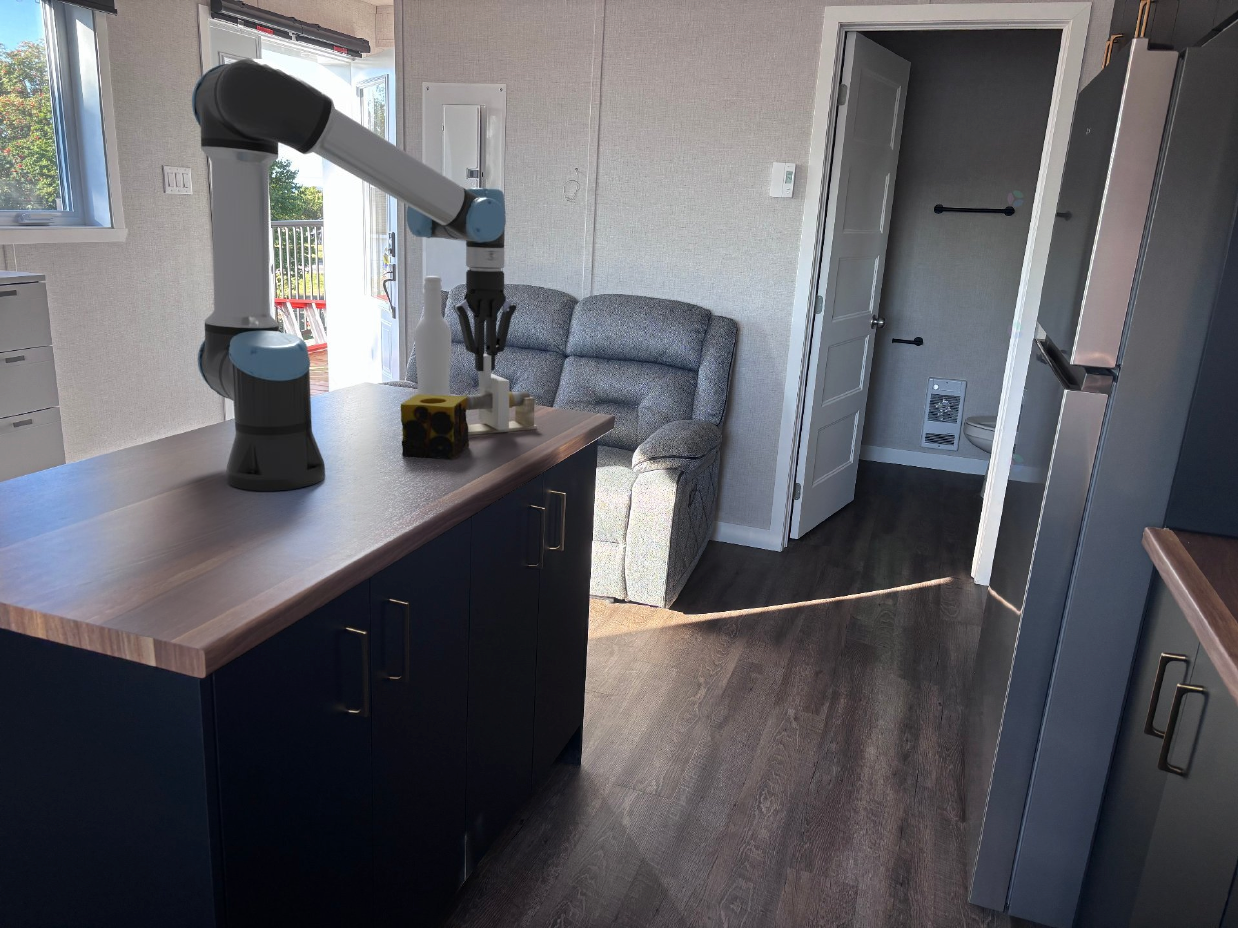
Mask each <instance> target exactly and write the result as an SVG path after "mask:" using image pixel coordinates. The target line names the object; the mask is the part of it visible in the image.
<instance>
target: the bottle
mask: <svg viewBox="0 0 1238 928" xmlns="http://www.w3.org/2000/svg"><path fill="white" fill-rule="evenodd" d="M441 282H442V278H441V277H440V276H437V275H427V276H425V277H424V283H423V287H422V288H423V290H424V291H423V293H424V294H423V299H424V301H423V304H424V305H423V316H422V318H421V319H419V321H418V323H417V325H416V326H415V329H414V334H413V335H414V337H413V338H414V350H415V361H416V362H415V363H416V364H415V365H416V376H417V390H416V394H415V395H417V394H424V395H445V396H452V394H451V391H450V375H451V373H450V372H451V359H452V358H451V356H452V353H451V352H452V332H451V331H452V330H451V327H450V325H449V323H448V321H446V319H445V318H444V316H443V313H442V283H441Z"/></svg>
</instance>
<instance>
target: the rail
mask: <svg viewBox="0 0 1238 928" xmlns="http://www.w3.org/2000/svg"><path fill="white" fill-rule="evenodd" d="M463 396H467V397H468V401H467V410H466V411H472V410H474V411H475V410H479V409H488V408H492V402H493V394H479V393H478V394H467V395H466V394H465V395H463ZM535 399H536V398H535V397H533V396H531V395H530V393H529V391H525V390H524V391H514V392H513V391H509V409H510V408H511V409H512V408H513V407H515V409H514V412H515V413H514V415H515V417H514V418H515V419H514V420H511V421H510V420H509V429H504V430H497V429H495V428H493V427H491V426H490V425H488V424H486V423H475V424H468V436H472V435H482V434H494V433H503V432H506V433H507V432H515V431H516V432H518V431H527V430H537V429H538V425H536V424H535Z"/></svg>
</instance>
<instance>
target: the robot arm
mask: <svg viewBox="0 0 1238 928" xmlns="http://www.w3.org/2000/svg"><path fill="white" fill-rule="evenodd" d="M191 107H192V113H193V116H194V118H195V121H196V122H197V124H198V125H199V128H200V149H201V151H202V152H203V153H204V154H205V155H206V156H207V157H208V158H209V160H210V161H211V193H212V194H211V197H212V198H211V200H212V202H211V203H212V206H211V207H212V251H213V253H212V254H213V255H212V256H213V257H212V259H213V304H214V305H213V306H214V307H213V312H212V313H211V314H209V316H208V317H206V318H205V319H204V340H203V341H202V343H201V345H200V347H199V349H198V352H197V367H198V371H199V374H200V376H201V377H202V379H203V380H204V382H205V383H206V384H207V386H208V387H209V388H210V389H211V390H212V391H214V392H215V393H216V394H218V395H219V396H221V397H222V398H225V399H229V400H230V401H233V402H232V403H233V415H234V426H235V436H234V439H233V443H232V446H231V449H230V450H231V451H230V454H229V457H228V461H227V465H226V471H225V472H226V482H227V484H228V485H229V486H232V487H234V488H236V489H237V488H238V489H242V490H245V491H247V490H248V491H259V492H273V491H274V492H275V491H276V492H277V491H287V490H296V489H301V488H305V487H309V486H313V485H314V484H317V483H320V482H322V481H323V480H324V479H325V477H326V468H325V467H326V465H325V461H324V459H323V456H322V453H321V451H320V448H319V446H318V443H317V441H316V438H315V435H314V433H313V428H312V427H313V424H312V402H311V401H312V400H311V399H312V398H311V377H310V376H311V375H310V371H311V370H310V366H311V359H310V356H309V351H308V350H309V349H308V345H307V344H306V342H305V341H304V340H303V339H302V338H301V337H299V336H297V335H295V334H291V333H285V332H284V333H283V332H281V331H280V330H279V326H280V325H279V322H278V321H277V320H276V319H274V317H272V315H271V314H270V238H269V237H270V235H269V233H270V227H269V226H270V223H269V222H270V221H269V220H270V219H269V218H270V213H269V210H270V209H269V208H270V205H269V202H270V201H269V199H270V197H269V196H270V195H269V190H270V189H269V169H270V166H271V165H273V163H274V162H275V161H276V160H278V158H279V144H281V145H284V146H287V147H289V148H291V149H293V150H295V151H297V152H299V153H301V154H302V155H308V154H312V153H314V154H316V155H318V156H319V157H320V158H323V159H325V160H326V161H329V162H330V163H331V164H334V165H335V166H337V167H339V168H341V169H342V170H344V171H346V172H348V173H349V174H350V175H353V176H354V177H356V178H358V179H360V180H362V181H364V182H365V183H367V184H369V185H371V186H373V187H375V188H376V189H378V190H379V191H381V192H383V193H385V194H386V195H388V196H390V197H391V198H393V199H395V200H397V201H399V202H401V203H403V204H405V205H406V207H407V208H406V222H407V227H408V230H409V231H410V233H411V234H412V235H413V236H414V237H416V238H426V239H430V238H431V239H433V238H436V239H437V238H438V239H449V240H461V241H465V246H466V247H465V250H466V251H465V266H466V267H467V268H468V269H467V271H466V272H465V285H466V287H465V289H466V293H465V295H464V298H463V299H464V300H463V301H461V302H460V303H458V304H457V303H456V304H454V305H453V307H452V308H453V311H454V312H455V313H456V315H457V317H458V321H459V324H460V330H461V333H462V338H463V341H464V346H465V350H466V351H467V352H469V353H472V354H474V358H475V359H474V361H475V363H474V364H475V365H474V368H475V370H476V371H477V372H478V387H479V386H481V387H483V388H491V373H492V371H495V369H496V356H497V355H498V354H499V353H500V352H502V353H503V352H504V351H505V348H506V343H507V339H508V334H509V329H510V326H511V321H512V317H513V315H514V313H515V312H516V311H517V306H516V304H512V303H510V302H509V301H508V300H507V297H506V294H505V272H504V271H503V270H502V269H504V268H505V237H506V236H505V230H506V222H507V220H506V219H507V216H506V214H507V213H506V204H505V203H506V202H505V194H504V192H503V191H502V190H501V189H499V188H488V187H487V188H485V187H468V188H467V189H466V188H465V187H463V186H461V185H460V184H458V183H456V181H455V182H454V181H453V180H451V179H450V178H448V177H447V176H445V175H443V174H442V173H440V172H438V171H437V170H435V169H434V168H432V167H431V166H429V165H428V164H426V163H424V162H422V161H421V160H419V159H418V158H416V157H414V156H413V155H412V154H409V153H408V152H406V151H405V150H404V149H401V148H400V147H398V146H396V145H395V144H394V143H392V142H390V141H388V140H387V139H385V138H384V137H382V136H380V135H378V134H377V133H375V132H374V131H372V130H371V129H369V128H367V127H365V126H364V125H363V124H361V123H359V122H358V121H356V120H355V119H353V118H351V117H349V116H348V115H346V114H345V113H343V112H341V111H339V110H338V109H336V107H335V104H334V101H333V99H332V98H331V97H330V96H329V95H327V94H325V93H324V92H322V91H320V90H319V89H317V88H315V87H314V86H313V85H311V84H309V83H308V82H307V81H304V80H303V79H301V78H300V77H298V76H296V74H293V73H291V72H290V71H288V70H287V69H285V68H283V67H282V66H280V65H277V64H275V63H274V62H272V61H268V60H264V59H261V58H255V57H254V58H250V57H249V58H244V59H243V58H242V59H240V60H236V61H234V62H230V63H223V64H218V65H216V66H214V67H212V68H210V69H209V70H207V71H206V72H205V73H204V74H203V75H202V76H201V77H200V78H199V79H198V81H197V82H196V84H195V85H194V89H193V91H192V95H191ZM469 310H470V311H471V313H472V314H473V315H472V320H473V324H474V325H473V329H474V330H472V326H471V323H470V317H469V314H468V312H469ZM500 310H502V312H501V316H500V319H499V323H498V328H497V321H498V314H499V312H500Z"/></svg>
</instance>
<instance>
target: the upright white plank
mask: <svg viewBox="0 0 1238 928" xmlns="http://www.w3.org/2000/svg"><path fill="white" fill-rule="evenodd" d="M509 392H510V380H509V379H505V378H503V377H501V376H498V375H496V374H494V373H492V372H491V388H483V387H481V386H479V385H478V395H479V394H493V402H492V408H488V409H478V420H479V421H480V422H482V423H483V424H485V423H486V424H488V425H490V426H491V427H493V428H495V429H497V430H504V429H509V421H510V408H509Z"/></svg>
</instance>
